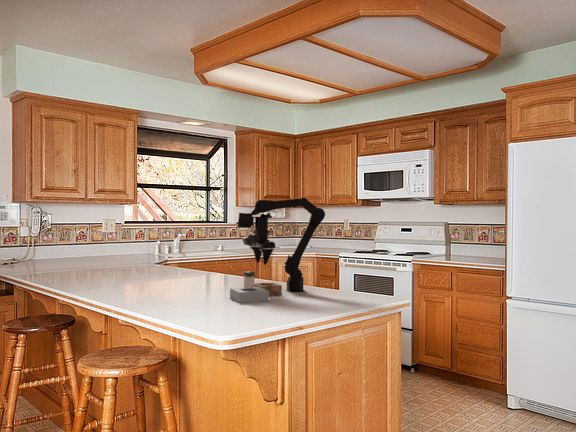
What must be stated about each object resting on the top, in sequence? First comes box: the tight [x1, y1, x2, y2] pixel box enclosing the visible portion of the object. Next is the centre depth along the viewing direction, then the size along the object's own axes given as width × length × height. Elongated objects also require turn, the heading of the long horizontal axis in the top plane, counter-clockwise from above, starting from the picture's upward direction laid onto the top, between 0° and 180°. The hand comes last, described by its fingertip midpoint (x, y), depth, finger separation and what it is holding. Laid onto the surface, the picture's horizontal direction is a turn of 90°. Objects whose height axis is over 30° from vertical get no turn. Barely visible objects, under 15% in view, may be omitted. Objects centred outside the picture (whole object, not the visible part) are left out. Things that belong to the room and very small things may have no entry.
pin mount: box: [254, 281, 283, 296], centre depth 222 cm, size 10×10×4 cm
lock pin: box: [242, 270, 256, 291], centre depth 206 cm, size 5×5×11 cm
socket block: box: [229, 287, 270, 304], centre depth 206 cm, size 12×12×4 cm
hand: (261, 263), depth 230 cm, fingers open, 9 cm apart
